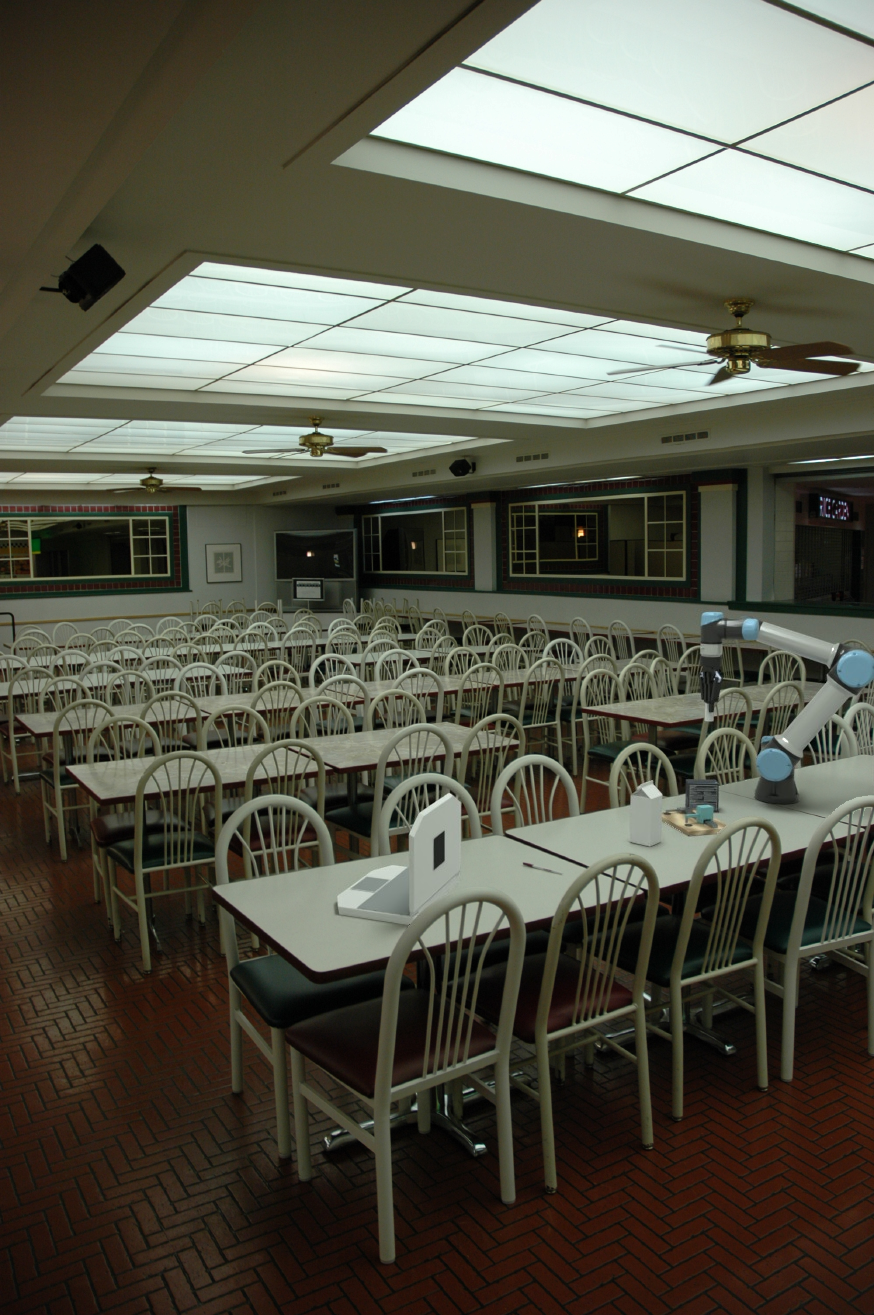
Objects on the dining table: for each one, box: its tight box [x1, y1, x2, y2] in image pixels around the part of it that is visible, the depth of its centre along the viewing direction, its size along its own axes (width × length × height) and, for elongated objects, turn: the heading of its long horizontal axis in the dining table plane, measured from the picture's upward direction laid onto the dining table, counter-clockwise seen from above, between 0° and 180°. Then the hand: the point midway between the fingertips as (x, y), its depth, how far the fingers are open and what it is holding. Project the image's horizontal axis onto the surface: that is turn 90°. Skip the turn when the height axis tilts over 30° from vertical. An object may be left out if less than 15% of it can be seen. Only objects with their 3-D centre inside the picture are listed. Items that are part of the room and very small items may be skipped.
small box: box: [684, 778, 720, 813], centre depth 323 cm, size 11×6×10 cm, turn 84°
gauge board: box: [662, 810, 728, 836], centre depth 306 cm, size 16×22×2 cm
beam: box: [665, 806, 718, 828], centre depth 306 cm, size 9×20×1 cm, turn 15°
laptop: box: [336, 792, 462, 926], centre depth 242 cm, size 33×24×26 cm
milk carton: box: [629, 780, 663, 847], centre depth 287 cm, size 7×7×19 cm
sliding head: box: [685, 805, 714, 824], centre depth 302 cm, size 9×3×5 cm, turn 105°
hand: (709, 720), depth 332 cm, fingers closed
